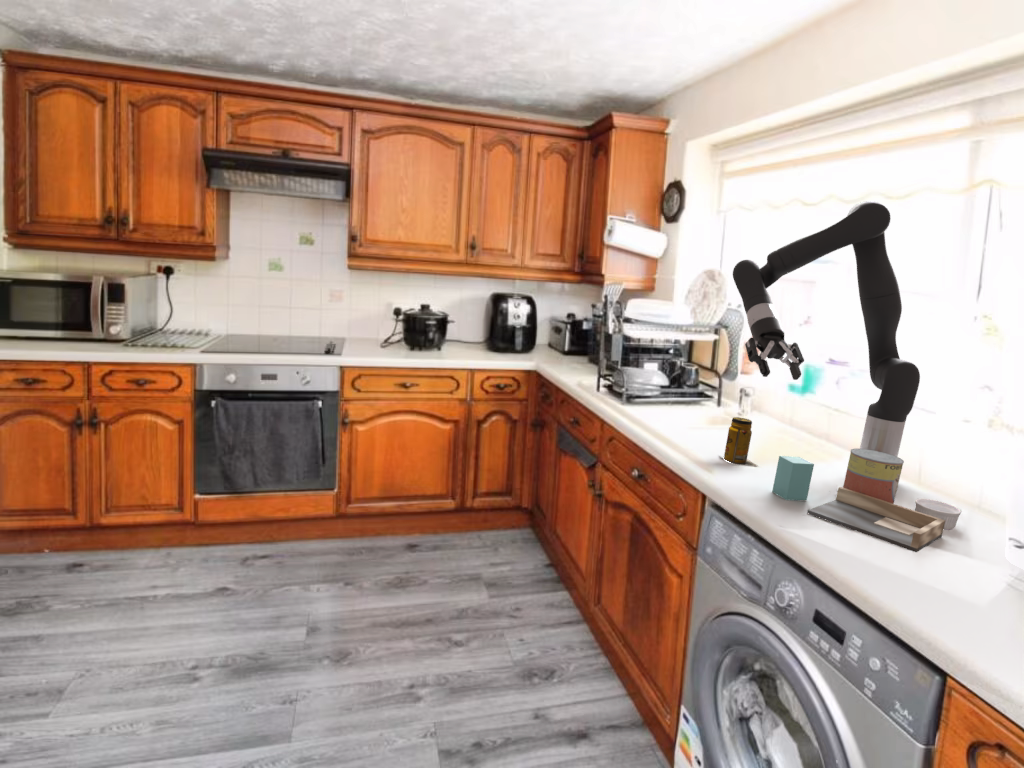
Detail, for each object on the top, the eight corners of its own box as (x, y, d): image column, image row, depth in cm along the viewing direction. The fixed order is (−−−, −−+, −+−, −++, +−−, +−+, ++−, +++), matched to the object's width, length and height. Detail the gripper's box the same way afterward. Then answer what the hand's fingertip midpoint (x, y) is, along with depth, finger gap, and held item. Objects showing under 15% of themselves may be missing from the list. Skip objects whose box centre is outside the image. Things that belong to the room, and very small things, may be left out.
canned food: (891, 516, 153) (903, 466, 151) (837, 502, 159) (848, 454, 156) (893, 504, 162) (904, 457, 160) (843, 491, 168) (853, 445, 166)
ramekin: (958, 535, 146) (963, 516, 145) (912, 523, 150) (916, 505, 149) (955, 523, 154) (959, 505, 153) (910, 512, 158) (915, 495, 157)
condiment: (718, 456, 188) (725, 415, 186) (746, 458, 189) (754, 417, 187) (728, 464, 181) (736, 421, 179) (758, 467, 182) (766, 424, 180)
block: (792, 492, 162) (799, 456, 161) (806, 500, 157) (814, 464, 155) (772, 491, 161) (779, 455, 160) (785, 499, 156) (793, 463, 154)
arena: (837, 502, 159) (840, 486, 158) (941, 537, 143) (945, 520, 142) (807, 513, 148) (810, 497, 147) (916, 552, 132) (920, 534, 131)
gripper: (748, 313, 169) (765, 365, 161) (797, 318, 173) (816, 370, 164) (733, 331, 175) (748, 382, 167) (780, 336, 179) (798, 387, 170)
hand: (782, 376), depth 165 cm, fingers open, 8 cm apart
